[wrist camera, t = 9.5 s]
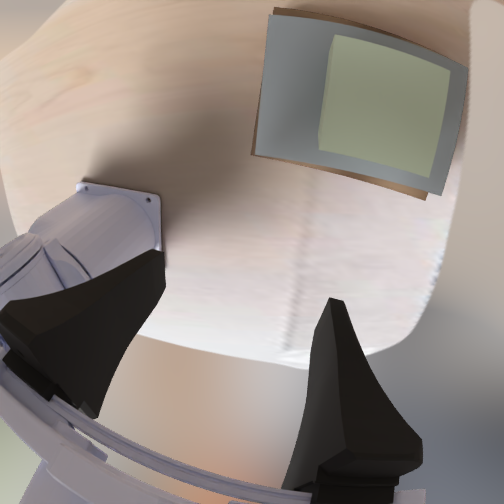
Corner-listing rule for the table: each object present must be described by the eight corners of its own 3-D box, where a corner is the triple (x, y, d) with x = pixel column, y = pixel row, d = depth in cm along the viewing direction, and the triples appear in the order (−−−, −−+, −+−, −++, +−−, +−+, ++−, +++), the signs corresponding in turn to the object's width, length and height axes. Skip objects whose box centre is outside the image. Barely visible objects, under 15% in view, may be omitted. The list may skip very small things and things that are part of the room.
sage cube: (317, 133, 13) (318, 149, 10) (329, 51, 11) (334, 34, 7) (399, 152, 13) (428, 178, 9) (413, 74, 10) (450, 71, 7)
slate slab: (262, 146, 17) (254, 154, 15) (275, 24, 12) (269, 14, 10) (426, 182, 15) (441, 196, 13) (450, 69, 11) (468, 68, 9)
